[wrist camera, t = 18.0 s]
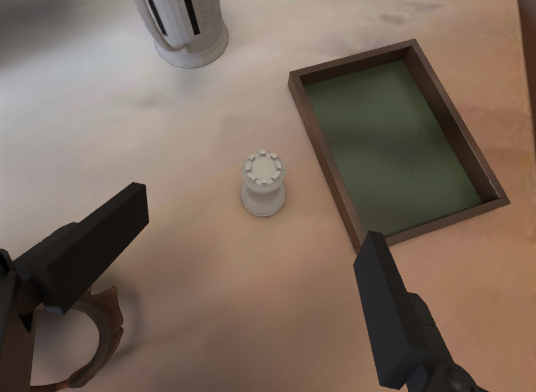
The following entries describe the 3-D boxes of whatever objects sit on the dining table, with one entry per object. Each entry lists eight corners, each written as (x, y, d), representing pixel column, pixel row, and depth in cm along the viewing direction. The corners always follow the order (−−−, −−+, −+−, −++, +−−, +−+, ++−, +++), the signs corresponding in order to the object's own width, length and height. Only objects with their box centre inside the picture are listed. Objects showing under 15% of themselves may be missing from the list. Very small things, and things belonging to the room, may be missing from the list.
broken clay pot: (105, 234, 25) (89, 258, 17) (145, 314, 27) (146, 366, 20) (-60, 299, 20) (-176, 369, 13) (4, 390, 22) (-66, 496, 15)
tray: (287, 85, 29) (289, 71, 27) (405, 53, 31) (415, 38, 29) (356, 255, 25) (365, 254, 22) (491, 208, 26) (511, 203, 24)
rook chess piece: (258, 226, 25) (256, 209, 17) (232, 191, 26) (219, 160, 18) (294, 200, 26) (308, 172, 18) (267, 166, 27) (269, 126, 19)
